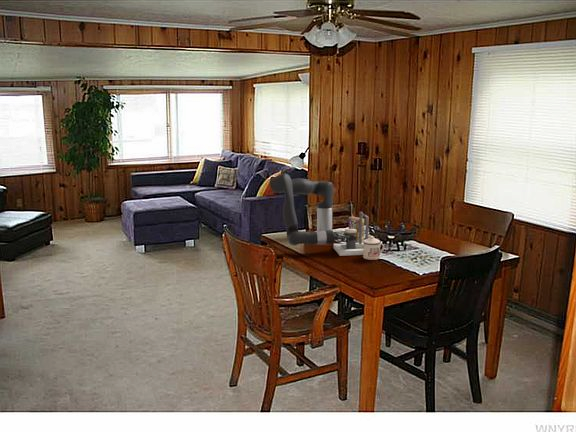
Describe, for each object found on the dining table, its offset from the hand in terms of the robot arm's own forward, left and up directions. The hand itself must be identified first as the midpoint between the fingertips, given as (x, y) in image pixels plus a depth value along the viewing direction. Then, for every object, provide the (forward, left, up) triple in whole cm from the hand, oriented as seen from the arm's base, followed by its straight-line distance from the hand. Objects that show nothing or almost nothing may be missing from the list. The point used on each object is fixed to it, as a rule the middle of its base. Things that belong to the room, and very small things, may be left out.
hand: (353, 236), depth 309 cm
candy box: (-16, +6, -9) cm, 19 cm away
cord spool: (0, -2, -8) cm, 9 cm away
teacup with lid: (+14, +8, -9) cm, 18 cm away
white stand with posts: (0, +1, -8) cm, 9 cm away
